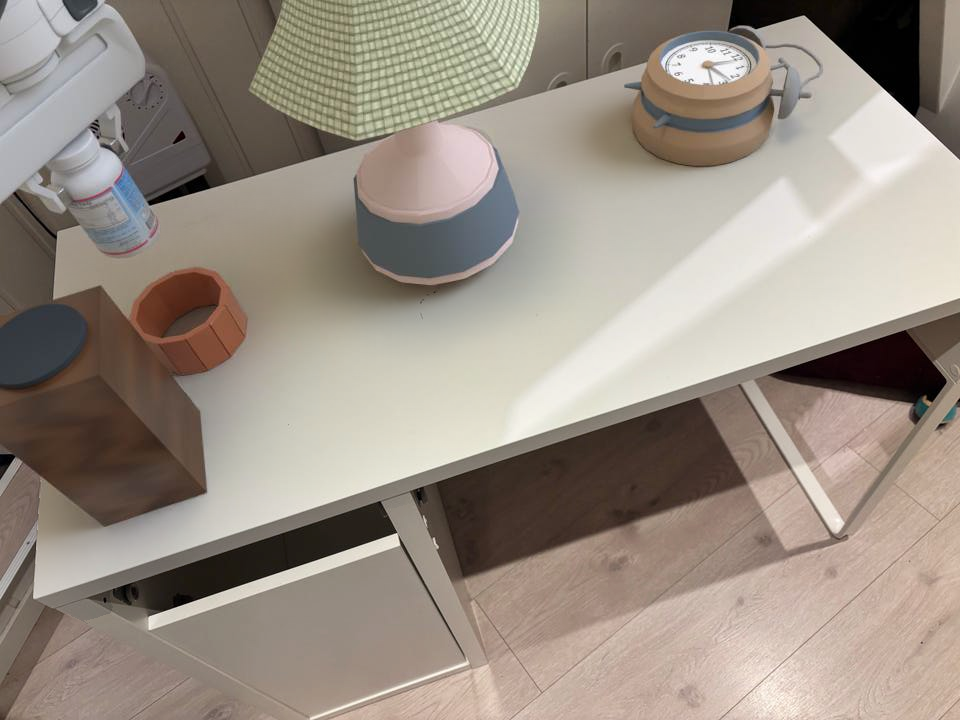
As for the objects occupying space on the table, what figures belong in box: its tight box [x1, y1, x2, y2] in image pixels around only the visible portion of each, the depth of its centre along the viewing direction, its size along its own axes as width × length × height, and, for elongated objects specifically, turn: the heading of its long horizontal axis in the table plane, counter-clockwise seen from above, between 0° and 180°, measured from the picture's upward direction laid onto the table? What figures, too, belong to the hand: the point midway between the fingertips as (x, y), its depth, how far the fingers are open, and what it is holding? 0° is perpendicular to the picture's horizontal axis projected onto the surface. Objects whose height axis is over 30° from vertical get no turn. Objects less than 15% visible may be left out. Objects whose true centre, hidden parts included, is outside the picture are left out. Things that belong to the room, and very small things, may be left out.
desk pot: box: [128, 266, 248, 376], centre depth 81 cm, size 11×11×6 cm
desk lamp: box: [248, 0, 540, 286], centre depth 72 cm, size 26×28×42 cm
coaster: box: [0, 304, 87, 389], centre depth 58 cm, size 8×8×1 cm
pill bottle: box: [45, 127, 161, 259], centre depth 67 cm, size 6×6×11 cm
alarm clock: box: [623, 25, 824, 167], centre depth 91 cm, size 17×9×23 cm
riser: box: [0, 284, 208, 527], centre depth 66 cm, size 10×10×19 cm
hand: (91, 180), depth 66 cm, fingers closed on pill bottle, 6 cm apart
